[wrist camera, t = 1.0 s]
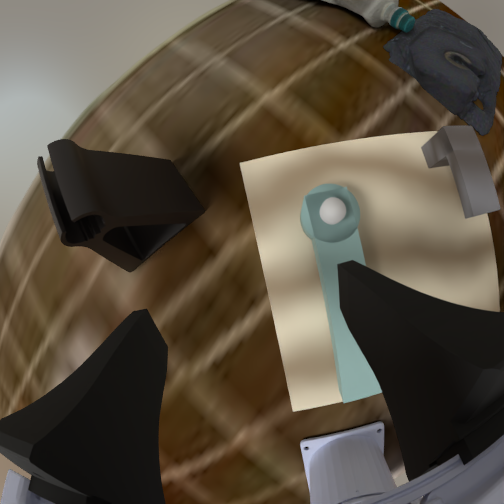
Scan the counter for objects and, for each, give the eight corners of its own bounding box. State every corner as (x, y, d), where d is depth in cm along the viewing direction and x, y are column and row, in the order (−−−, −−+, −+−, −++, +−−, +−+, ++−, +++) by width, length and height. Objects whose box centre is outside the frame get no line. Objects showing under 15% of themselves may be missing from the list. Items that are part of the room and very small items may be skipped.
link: (294, 198, 20) (295, 186, 17) (344, 187, 20) (354, 174, 16) (332, 390, 19) (338, 411, 16) (379, 378, 19) (392, 395, 15)
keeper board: (494, 335, 18) (526, 347, 13) (293, 406, 21) (292, 441, 15) (454, 134, 19) (481, 110, 14) (241, 167, 22) (227, 140, 17)
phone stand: (172, 161, 23) (92, 96, 11) (206, 211, 22) (127, 164, 11) (104, 221, 24) (8, 199, 12) (131, 272, 23) (28, 277, 11)
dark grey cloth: (506, 71, 18) (520, 57, 13) (478, 148, 19) (502, 132, 15) (430, 7, 20) (438, -11, 15) (372, 55, 21) (381, 27, 17)
